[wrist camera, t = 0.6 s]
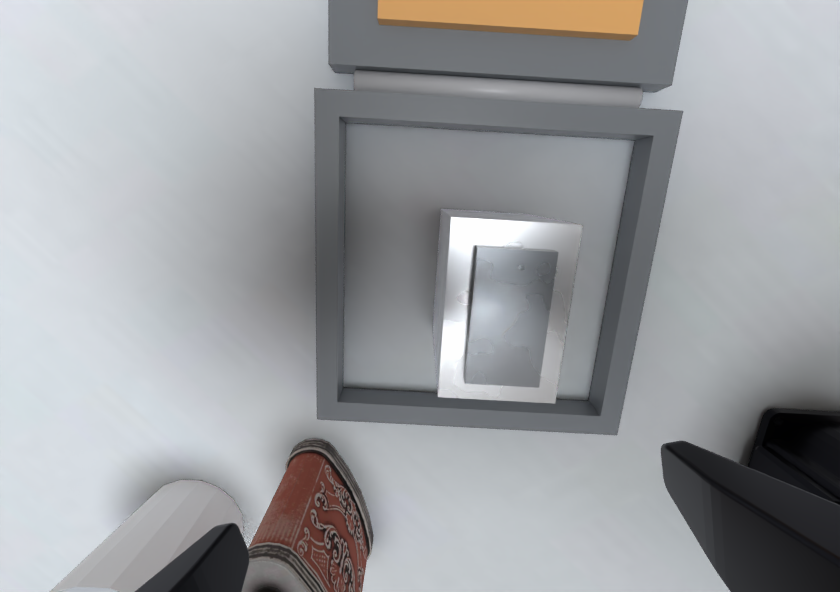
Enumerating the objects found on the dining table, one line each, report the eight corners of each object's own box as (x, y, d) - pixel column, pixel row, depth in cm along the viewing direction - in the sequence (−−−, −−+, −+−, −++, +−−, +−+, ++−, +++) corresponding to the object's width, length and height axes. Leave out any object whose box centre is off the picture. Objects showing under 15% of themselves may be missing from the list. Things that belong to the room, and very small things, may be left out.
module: (525, 213, 19) (590, 226, 12) (510, 333, 20) (560, 411, 13) (440, 208, 19) (452, 218, 12) (432, 329, 20) (438, 404, 13)
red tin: (277, 448, 22) (164, 647, 12) (334, 431, 22) (265, 621, 12) (331, 560, 24) (270, 809, 14) (385, 545, 24) (359, 789, 14)
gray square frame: (661, 117, 18) (683, 110, 16) (603, 418, 22) (617, 435, 20) (323, 96, 18) (314, 87, 16) (324, 403, 21) (317, 419, 20)
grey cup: (169, 448, 22) (58, 561, 15) (276, 510, 23) (216, 642, 16) (115, 530, 23) (-10, 667, 17) (218, 585, 24) (140, 736, 18)
